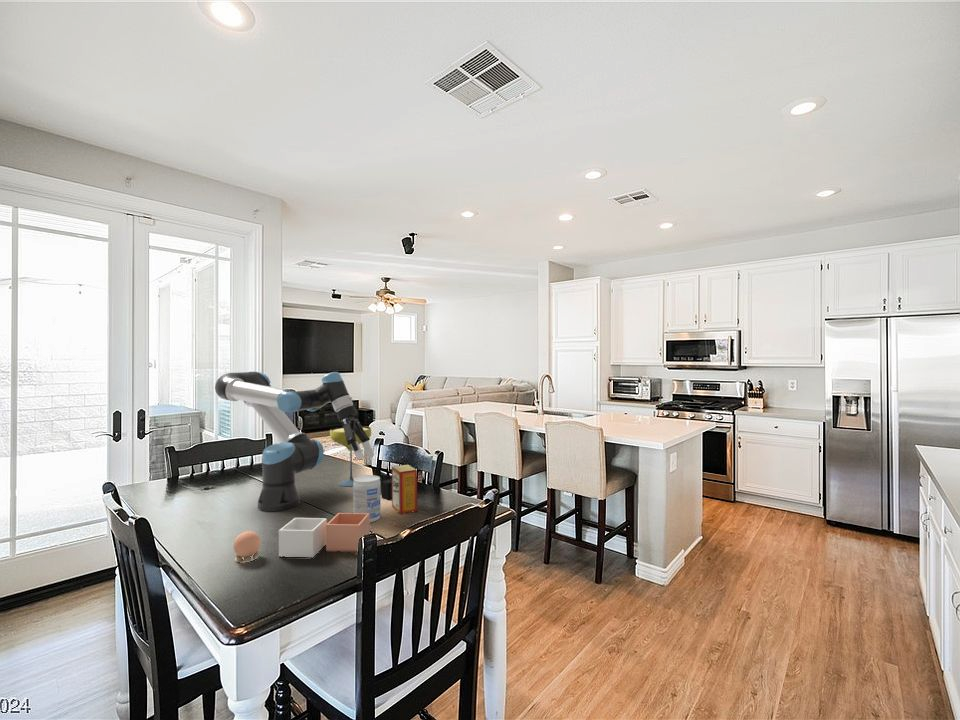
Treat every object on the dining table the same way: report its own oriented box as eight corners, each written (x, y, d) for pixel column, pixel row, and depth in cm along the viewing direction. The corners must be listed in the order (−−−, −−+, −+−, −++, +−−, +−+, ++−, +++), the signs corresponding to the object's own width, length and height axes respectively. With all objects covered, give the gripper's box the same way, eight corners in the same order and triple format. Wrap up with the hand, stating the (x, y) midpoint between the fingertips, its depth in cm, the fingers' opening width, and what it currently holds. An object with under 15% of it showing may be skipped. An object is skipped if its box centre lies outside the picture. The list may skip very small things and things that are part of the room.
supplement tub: (371, 525, 158) (371, 482, 158) (347, 522, 161) (347, 480, 161) (385, 515, 168) (385, 475, 167) (362, 513, 170) (362, 473, 170)
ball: (228, 561, 130) (228, 536, 129) (242, 550, 137) (242, 527, 136) (252, 561, 129) (252, 537, 129) (265, 551, 136) (265, 527, 136)
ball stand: (230, 563, 130) (230, 558, 130) (243, 553, 136) (243, 548, 136) (252, 563, 129) (251, 559, 129) (264, 553, 136) (263, 549, 136)
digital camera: (390, 501, 184) (390, 483, 184) (381, 498, 188) (381, 481, 188) (409, 494, 193) (409, 478, 193) (400, 492, 196) (400, 476, 196)
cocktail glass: (341, 477, 220) (340, 425, 219) (377, 478, 217) (377, 425, 217) (323, 488, 202) (322, 431, 201) (362, 489, 199) (362, 432, 199)
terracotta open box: (326, 551, 138) (325, 524, 137) (338, 537, 148) (338, 512, 148) (359, 552, 137) (359, 525, 137) (369, 538, 147) (369, 513, 147)
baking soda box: (392, 507, 177) (391, 465, 177) (408, 504, 180) (407, 463, 180) (400, 514, 169) (400, 471, 169) (417, 511, 172) (416, 468, 172)
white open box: (278, 557, 133) (278, 530, 133) (295, 543, 143) (294, 517, 143) (313, 558, 133) (312, 531, 133) (327, 543, 143) (326, 518, 143)
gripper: (342, 402, 171) (365, 454, 168) (362, 406, 196) (383, 452, 192) (324, 411, 171) (346, 464, 168) (347, 414, 196) (367, 460, 192)
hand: (366, 457), depth 180 cm, fingers open, 13 cm apart
